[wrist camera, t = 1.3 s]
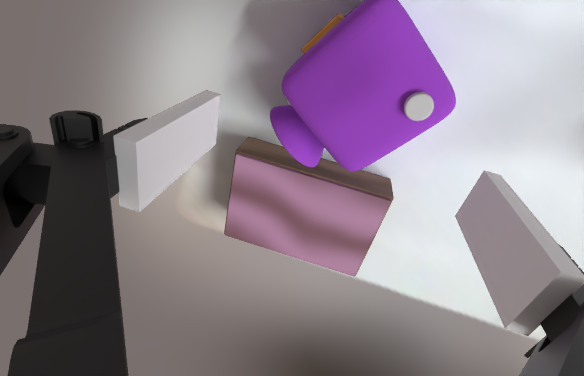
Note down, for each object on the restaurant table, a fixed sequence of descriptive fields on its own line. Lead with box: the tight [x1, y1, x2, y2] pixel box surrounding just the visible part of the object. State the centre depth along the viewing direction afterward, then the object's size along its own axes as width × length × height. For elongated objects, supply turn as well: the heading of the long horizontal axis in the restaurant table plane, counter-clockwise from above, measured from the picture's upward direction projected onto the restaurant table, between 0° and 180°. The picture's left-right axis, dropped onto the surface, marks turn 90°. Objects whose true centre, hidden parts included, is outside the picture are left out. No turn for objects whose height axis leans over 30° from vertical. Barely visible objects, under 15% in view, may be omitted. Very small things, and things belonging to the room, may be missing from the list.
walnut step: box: [224, 137, 393, 277], centre depth 34 cm, size 11×16×4 cm
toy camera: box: [270, 0, 456, 171], centre depth 25 cm, size 11×14×10 cm
